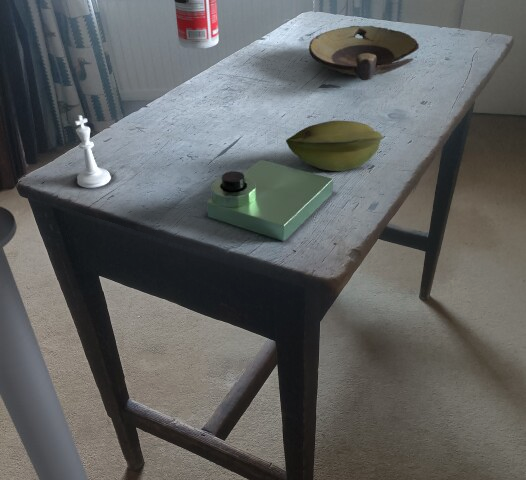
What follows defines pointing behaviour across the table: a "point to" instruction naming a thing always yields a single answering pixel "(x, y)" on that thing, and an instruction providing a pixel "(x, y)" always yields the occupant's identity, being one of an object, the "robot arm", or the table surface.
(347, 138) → the fruit
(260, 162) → the scale
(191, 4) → the pill bottle
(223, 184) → the button
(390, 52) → the broken bowl
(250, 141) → the table surface
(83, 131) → the chess piece
